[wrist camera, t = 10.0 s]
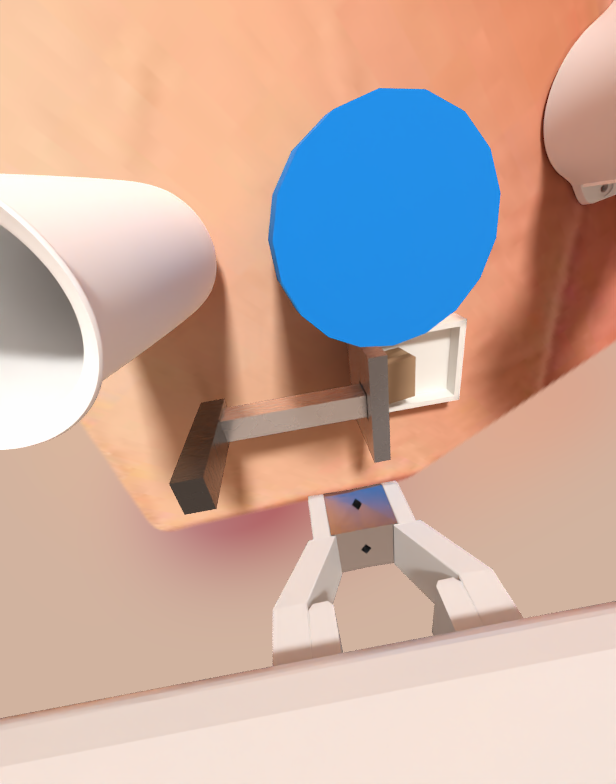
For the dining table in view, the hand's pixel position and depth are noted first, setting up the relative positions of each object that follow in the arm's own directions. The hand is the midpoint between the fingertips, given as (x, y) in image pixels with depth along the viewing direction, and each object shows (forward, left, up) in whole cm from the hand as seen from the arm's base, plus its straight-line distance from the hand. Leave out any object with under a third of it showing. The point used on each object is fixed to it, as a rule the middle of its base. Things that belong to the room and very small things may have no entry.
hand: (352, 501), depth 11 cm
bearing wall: (-7, +12, -33) cm, 36 cm away
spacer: (-11, +12, -32) cm, 36 cm away
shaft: (+4, +12, -28) cm, 31 cm away
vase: (+14, -7, -33) cm, 37 cm away
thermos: (-4, -7, -33) cm, 34 cm away
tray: (-15, +12, -33) cm, 38 cm away
